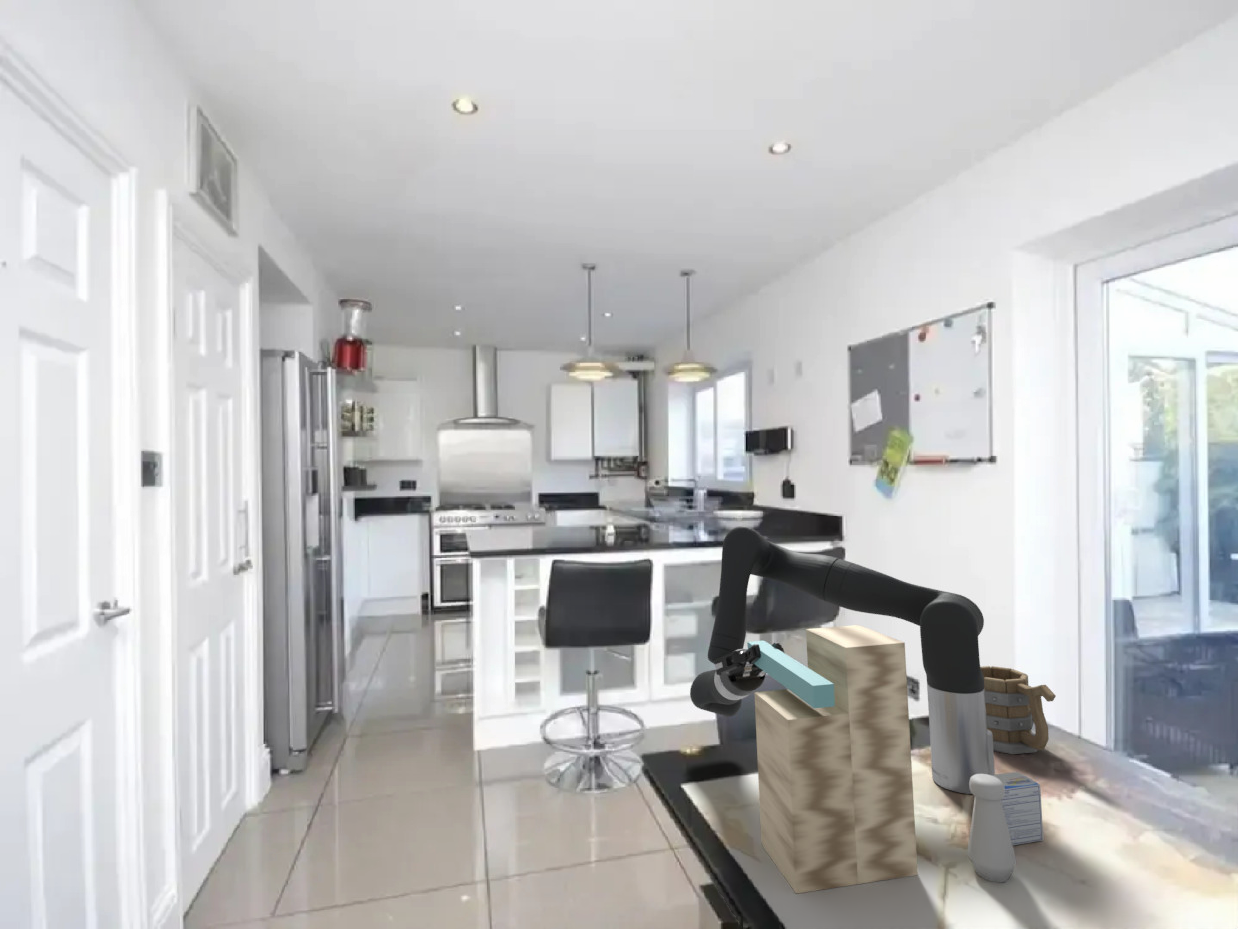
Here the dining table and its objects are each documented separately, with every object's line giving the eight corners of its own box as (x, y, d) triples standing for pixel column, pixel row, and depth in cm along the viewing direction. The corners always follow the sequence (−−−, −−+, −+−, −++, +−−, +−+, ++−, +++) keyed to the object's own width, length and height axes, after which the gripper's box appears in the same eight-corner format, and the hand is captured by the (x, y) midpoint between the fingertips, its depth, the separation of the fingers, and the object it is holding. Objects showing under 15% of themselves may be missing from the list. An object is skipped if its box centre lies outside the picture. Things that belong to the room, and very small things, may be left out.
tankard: (953, 732, 135) (949, 661, 136) (1007, 727, 136) (1003, 657, 137) (1023, 773, 115) (1018, 691, 116) (1085, 767, 117) (1080, 686, 117)
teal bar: (764, 658, 108) (763, 640, 108) (834, 706, 84) (833, 684, 84) (747, 659, 107) (747, 641, 107) (813, 708, 84) (812, 685, 84)
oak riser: (869, 829, 99) (858, 624, 100) (917, 874, 87) (904, 642, 88) (761, 844, 96) (751, 633, 97) (796, 893, 84) (784, 653, 85)
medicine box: (1020, 826, 98) (1017, 770, 98) (1044, 842, 94) (1041, 783, 94) (976, 833, 97) (972, 776, 97) (998, 849, 92) (994, 789, 93)
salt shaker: (1024, 888, 83) (1018, 789, 84) (977, 885, 84) (971, 787, 85) (1006, 862, 89) (1000, 769, 89) (962, 859, 90) (957, 767, 91)
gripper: (698, 658, 117) (722, 629, 103) (769, 652, 120) (802, 623, 105) (705, 699, 113) (732, 676, 99) (778, 693, 116) (815, 669, 101)
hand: (768, 649), depth 102 cm, fingers closed on teal bar, 3 cm apart
